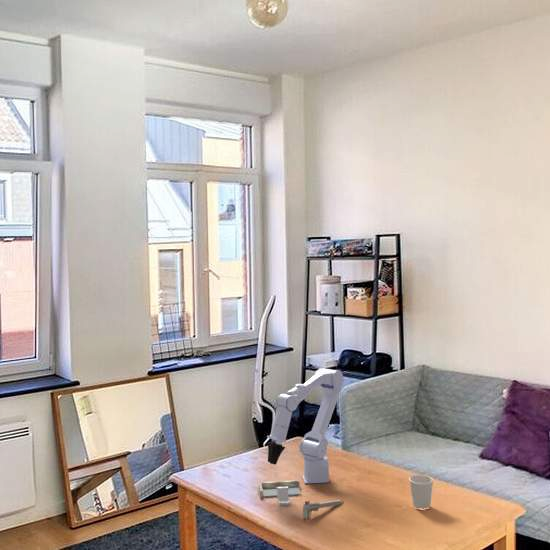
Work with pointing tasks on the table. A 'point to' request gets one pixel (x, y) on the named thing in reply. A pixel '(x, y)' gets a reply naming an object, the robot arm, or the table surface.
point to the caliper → (317, 507)
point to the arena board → (273, 491)
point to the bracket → (283, 496)
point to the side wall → (260, 490)
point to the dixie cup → (421, 490)
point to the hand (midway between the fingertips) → (271, 463)
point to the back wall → (280, 484)
